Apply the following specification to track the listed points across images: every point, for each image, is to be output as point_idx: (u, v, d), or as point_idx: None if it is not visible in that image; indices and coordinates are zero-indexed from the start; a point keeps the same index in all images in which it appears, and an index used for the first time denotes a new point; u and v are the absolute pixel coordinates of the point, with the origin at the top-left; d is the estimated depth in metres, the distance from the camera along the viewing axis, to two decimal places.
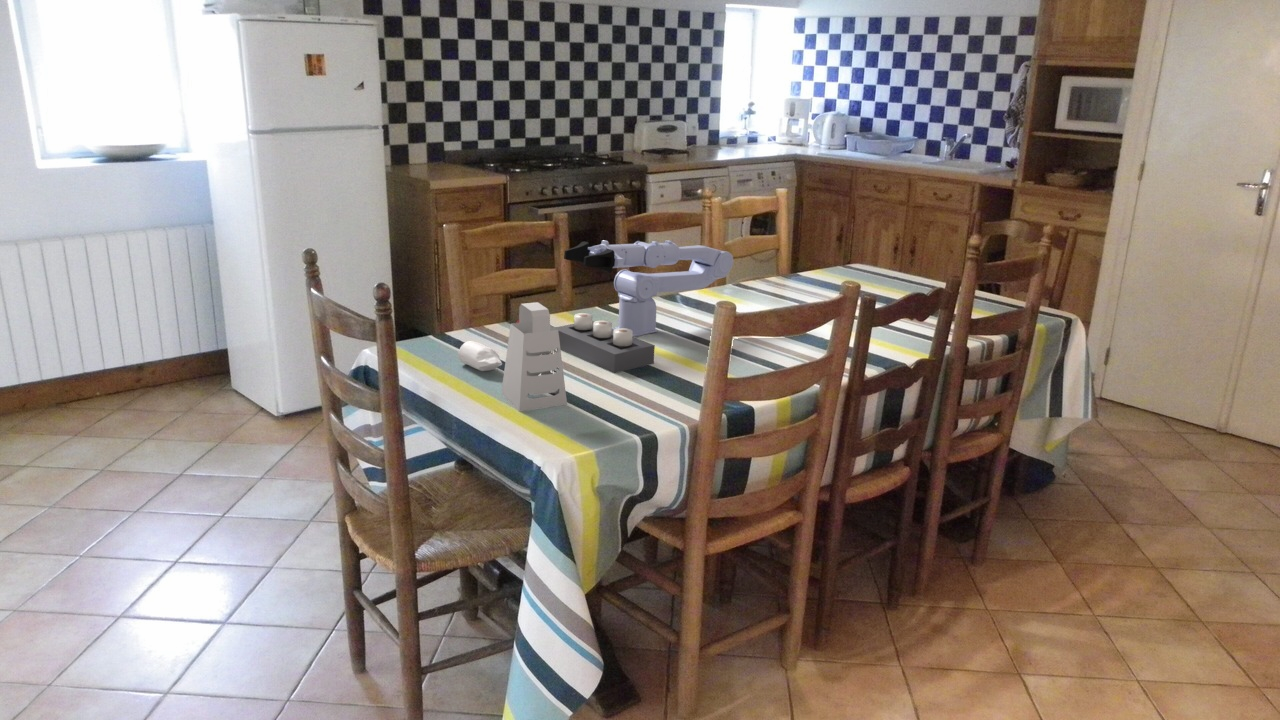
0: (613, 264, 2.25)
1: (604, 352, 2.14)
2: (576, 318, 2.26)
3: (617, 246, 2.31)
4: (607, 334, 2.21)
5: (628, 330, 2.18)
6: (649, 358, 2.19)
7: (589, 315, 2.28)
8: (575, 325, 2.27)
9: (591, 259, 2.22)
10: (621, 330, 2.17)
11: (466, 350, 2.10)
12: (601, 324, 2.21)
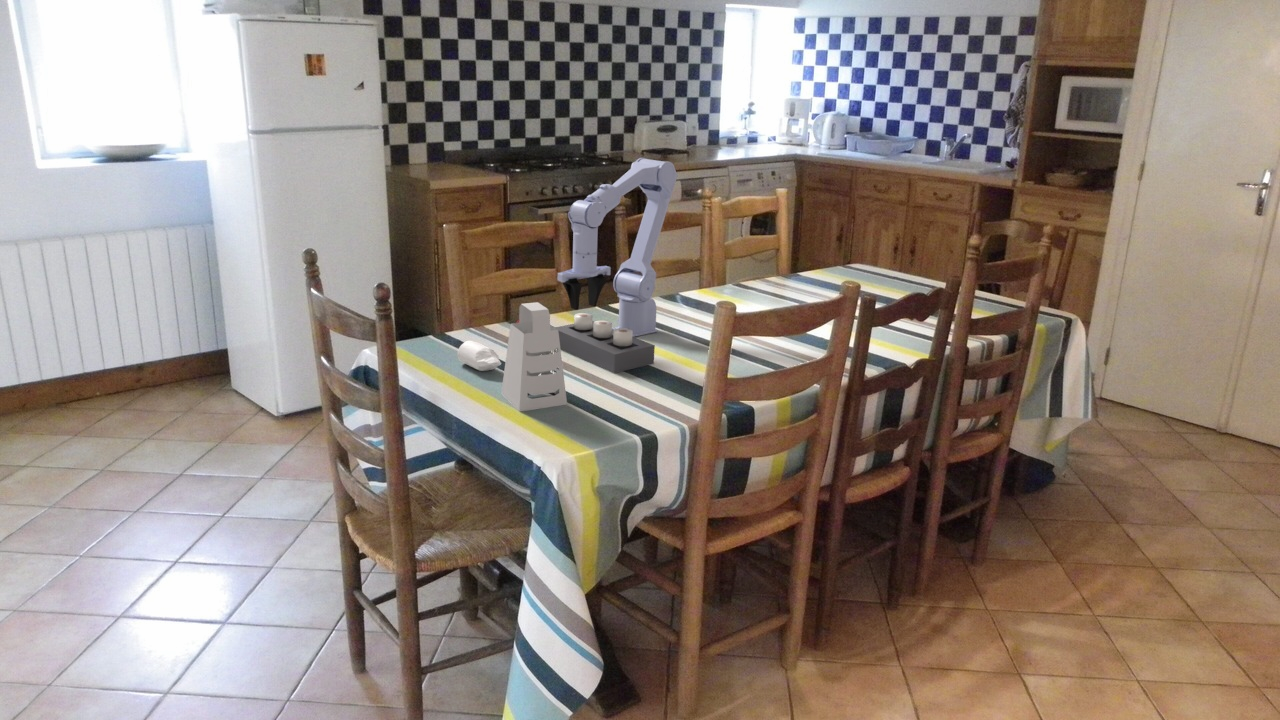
0: None
1: (604, 352, 2.14)
2: (576, 318, 2.26)
3: (594, 259, 2.22)
4: (607, 334, 2.21)
5: (628, 330, 2.18)
6: (649, 358, 2.19)
7: (589, 315, 2.28)
8: (575, 325, 2.27)
9: None
10: (621, 330, 2.17)
11: (465, 350, 2.11)
12: (601, 324, 2.21)
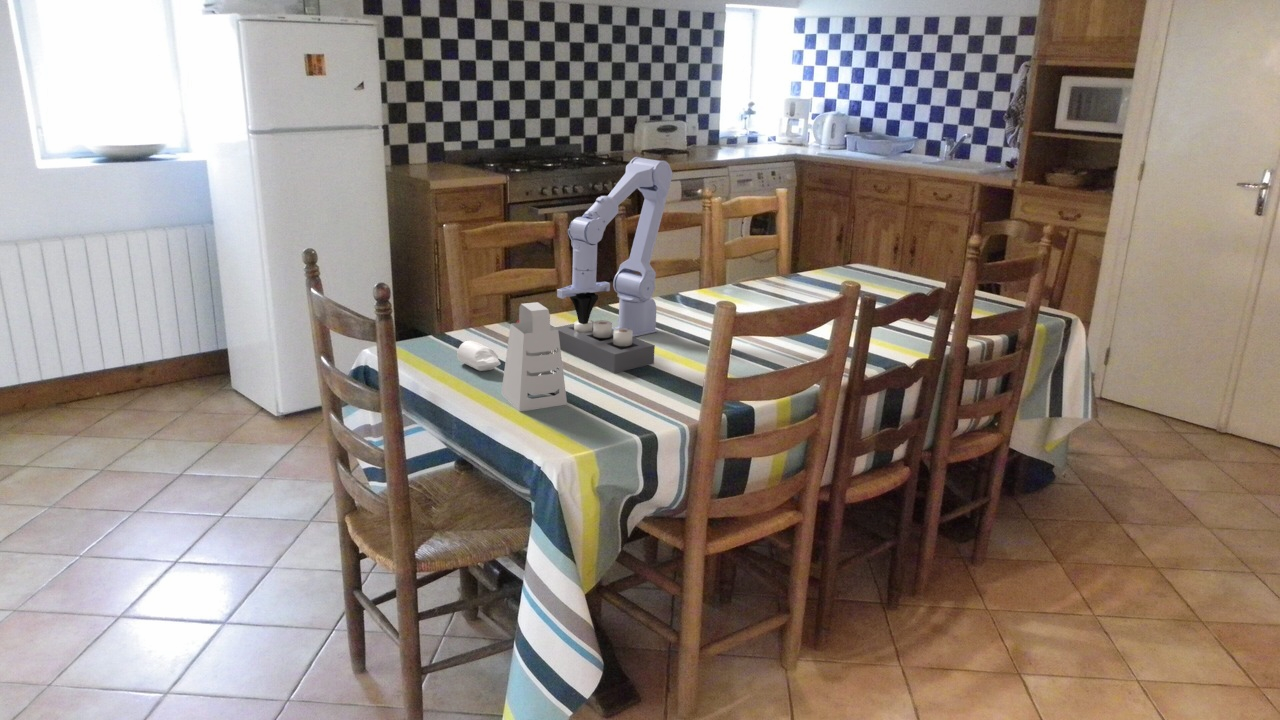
0: None
1: (604, 352, 2.14)
2: (576, 325, 2.27)
3: (594, 275, 2.23)
4: (607, 334, 2.21)
5: (628, 330, 2.18)
6: (649, 358, 2.19)
7: (589, 322, 2.28)
8: None
9: None
10: (621, 330, 2.17)
11: (465, 349, 2.11)
12: (601, 324, 2.21)
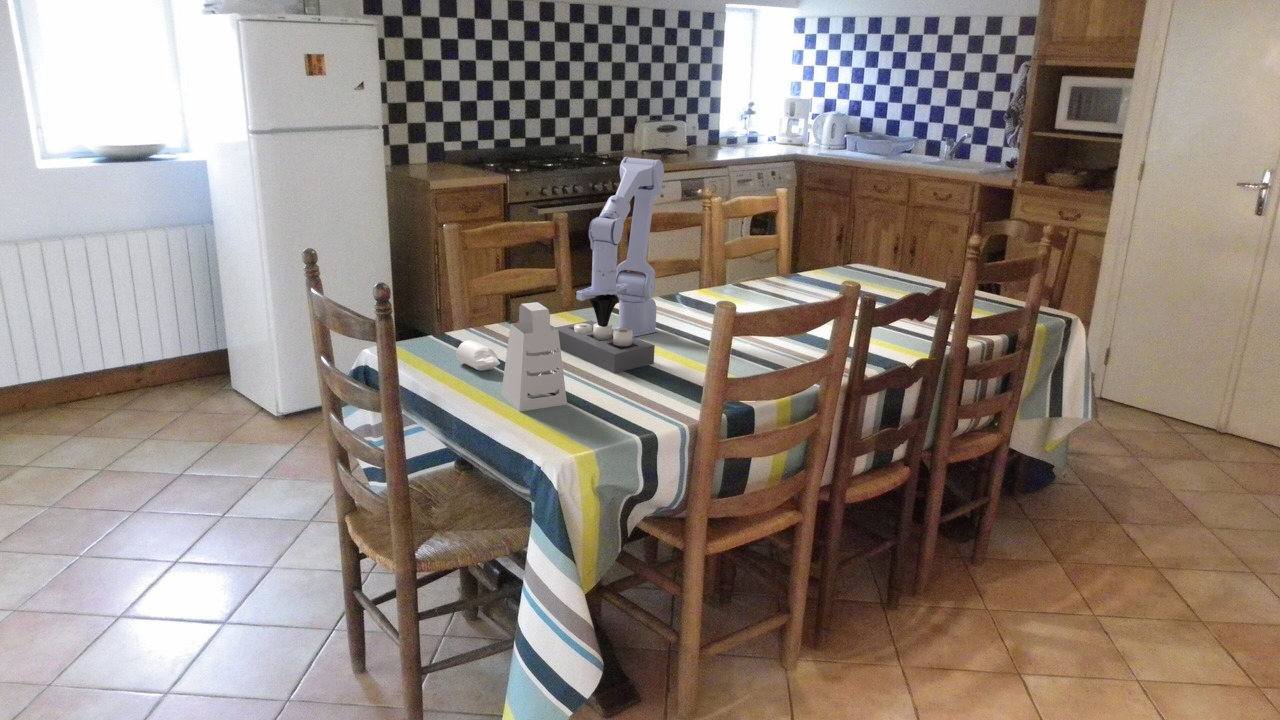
0: None
1: (604, 352, 2.14)
2: (576, 329, 2.27)
3: (614, 277, 2.17)
4: (607, 336, 2.21)
5: (628, 330, 2.18)
6: (649, 358, 2.19)
7: (589, 325, 2.29)
8: None
9: None
10: (621, 330, 2.17)
11: (464, 349, 2.11)
12: (601, 326, 2.21)
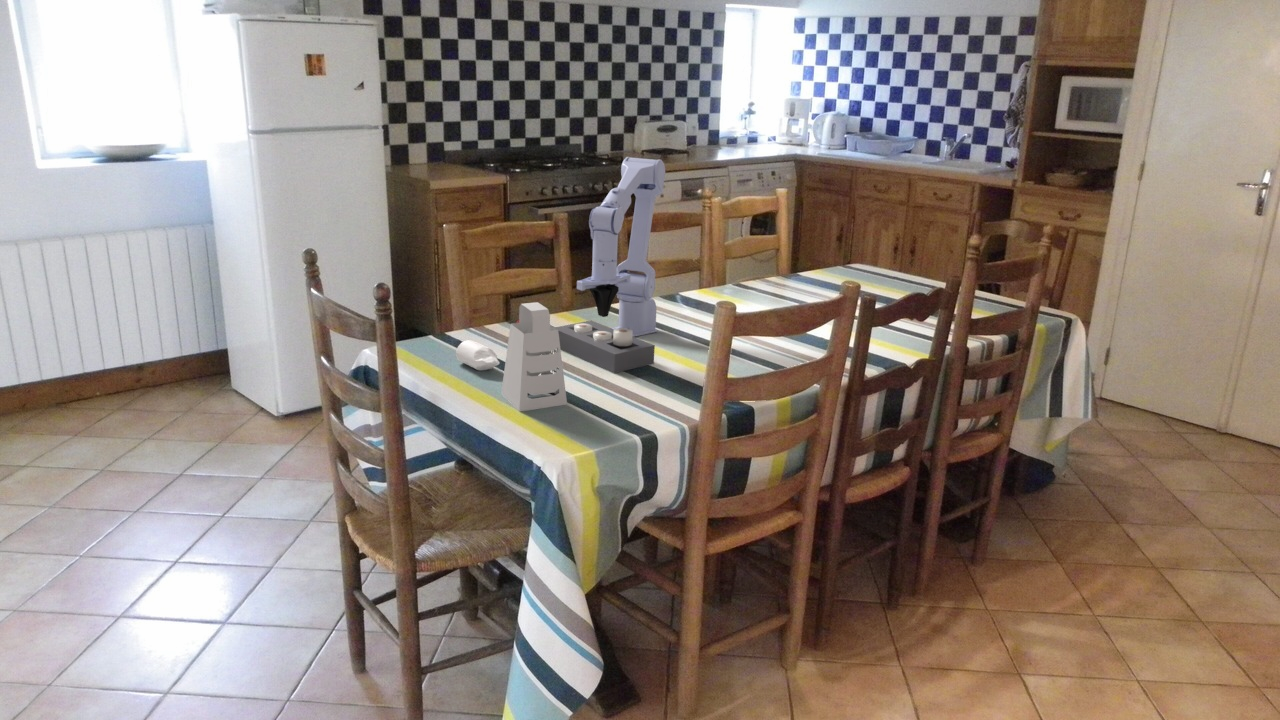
0: None
1: (604, 352, 2.14)
2: (576, 329, 2.27)
3: (615, 267, 2.17)
4: None
5: (628, 330, 2.18)
6: (649, 358, 2.19)
7: (589, 325, 2.29)
8: None
9: None
10: (621, 330, 2.17)
11: (464, 349, 2.11)
12: (600, 335, 2.22)
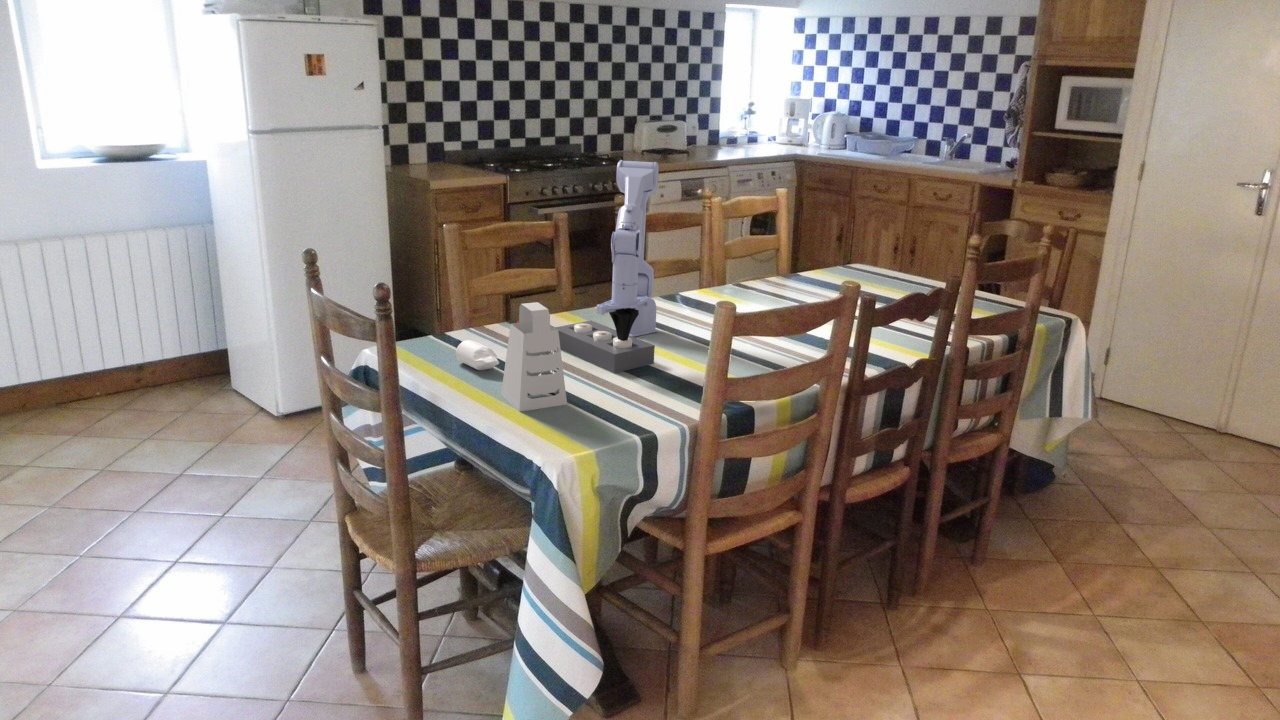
0: None
1: (604, 352, 2.14)
2: (576, 329, 2.27)
3: (635, 290, 2.12)
4: None
5: (628, 338, 2.18)
6: (649, 358, 2.19)
7: (589, 325, 2.29)
8: None
9: None
10: None
11: (463, 349, 2.11)
12: (600, 335, 2.22)
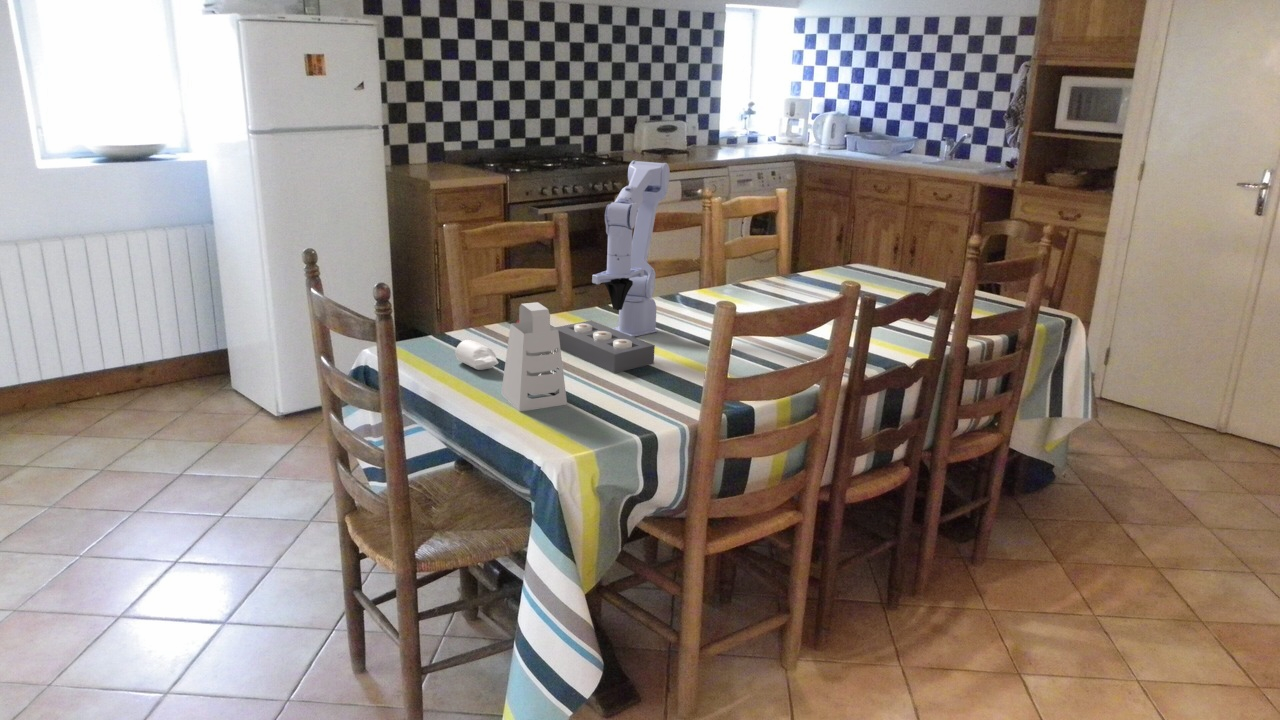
0: None
1: (604, 352, 2.14)
2: (576, 329, 2.27)
3: (629, 261, 2.22)
4: None
5: (628, 341, 2.18)
6: (649, 358, 2.19)
7: (589, 325, 2.29)
8: None
9: None
10: (621, 341, 2.18)
11: (463, 349, 2.11)
12: (600, 335, 2.22)
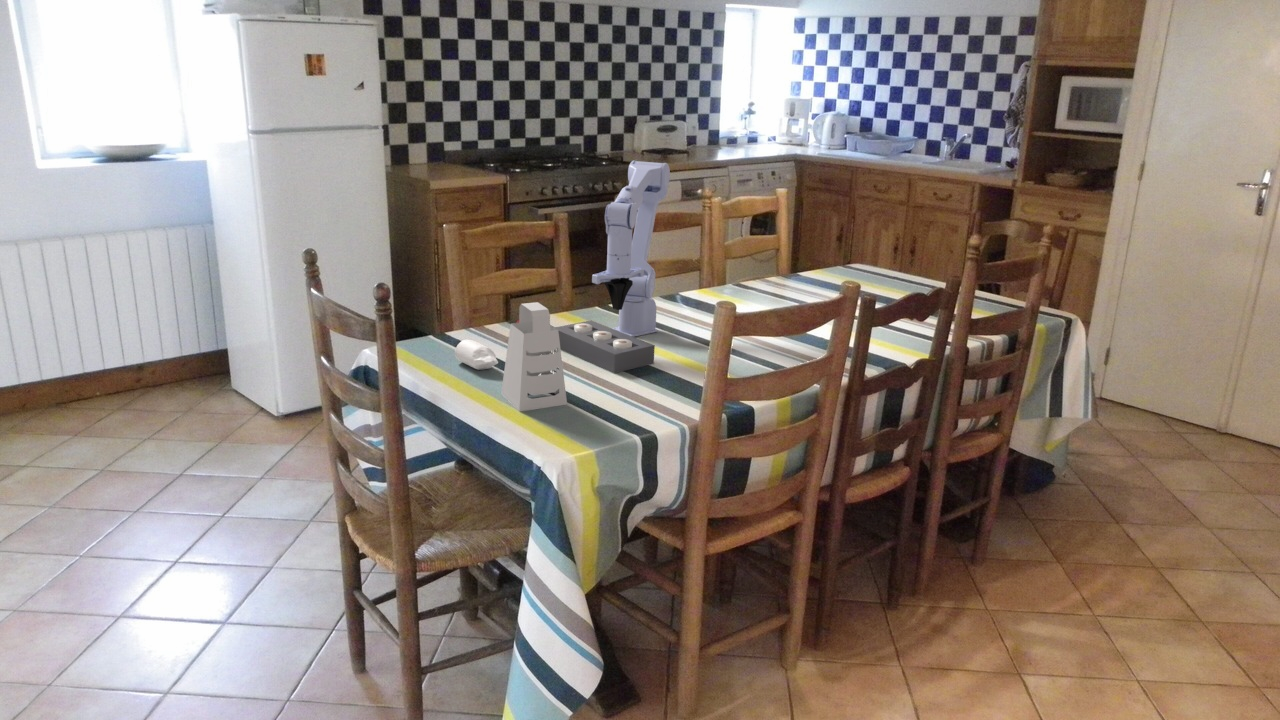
0: None
1: (604, 352, 2.14)
2: (576, 329, 2.27)
3: (629, 261, 2.22)
4: None
5: (628, 341, 2.18)
6: (649, 358, 2.19)
7: (589, 325, 2.29)
8: None
9: None
10: (621, 341, 2.18)
11: (462, 348, 2.11)
12: (600, 335, 2.22)
